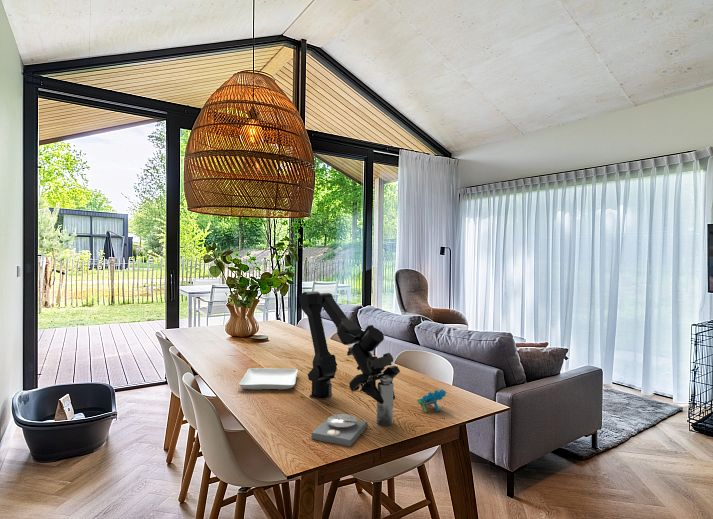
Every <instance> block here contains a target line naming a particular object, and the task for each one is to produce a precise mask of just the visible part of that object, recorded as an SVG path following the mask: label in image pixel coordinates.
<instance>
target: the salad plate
mask: <svg viewBox="0 0 713 519" xmlns="http://www.w3.org/2000/svg"><path fill="white" fill-rule="evenodd" d="M298 372H299V370H298V369H297V368H276V367H274V368H271V367H270V368H266V367H264V368H258V367H257V368H256V367H255V368H250V367H249V368H248V369H247V371H246V372H245V374H244V376H243V377H242V379H241V380H240V381H239V383H238V386H240V387H241V388H242V389H244V390H245V389H246V390H262V389H278V390H289V389H292V388H293V387H295V385H296V382H297V381H296V380H297V375H298Z"/></svg>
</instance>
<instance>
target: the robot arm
mask: <svg viewBox="0 0 713 519" xmlns="http://www.w3.org/2000/svg"><path fill="white" fill-rule="evenodd" d="M298 299H299V304H300V307H301V310H302V311H303V313H304V314H305V315H306V317H307V319H308V320H307V321H308V325H309V330H310V335H311V341H312V346H313V350H314V355H313V358H312V359H313V360H312V368H311V370H310V371H309V372H308V373H307V378H308V381H311V394H310V395H309V397H310V398H315V399H321V400H326V399H328V398H329V397H330V396H332V395H333V393H332V392H333V391H332V387H333V385H332V382H331V380H333V379H335V377H336V372H337V370H338V368H337V366H338V363H337V360H336V355H335V354H331V352H330V351H329V348H328V343H327V338H326V334H325V330H324V324H323V319H322V315H321V313H322V310H324V311H325V313H326V314H327V315H328V317H329V318H330V320H331V322H332V323H333V324H334V325H335V327H336V334H337V336H338V339H339V340H340V343H341V344H343V345H344V346H347V345H352V346H350V347H348V348H347V352H346V353H347V354H346V356H347V357H348V356H352V357H353V359H354V360H355V363H356V364H357V367H356V369H357V371H361V373H359V374H357V375H355V376H354V377H353V378H352V379H351V381H350V382H349V389H350V391H351V392H357V391H359V392H361V393H362V392H363V393H364V394H366V395H367V396H369V397H371V398H372V399H373V400H375V401H376V403H377V402H379V403H380V404H383V403H384V402H383V399H382V397H381V395H380V393H379V391H378V386H377V381H378V380H379V381H380V377H381V376H390V377H392V382H391V383H393V380H394V378H396V376H397V375H399V374H400V372H401V370H400V368H399V367H398V365H393V362H394V358H393V355H392V354H391V352H387V353H384V354H382V355H383V356H380V357H378V356H377V355H373V354H372V353H371V352H374V351H375V350H376V349H378V347H379V345H380V344H382V343H383V341H384V340H385V336H384V333H383V331H381V330H379V329H378V328H376V327H374V325H373V324H369V325H367V326H366V327H365V329H364V330H362V328H361V327H360V326H359V325H358V324H357V323H356V322H355V321H353V320H350V319H349V317H347V315H346V314H345V313H344V311H343V310H342V309H341V307H340V306H339V304H338V303H337V301H336V300H335V299H334V296H333V294H332V293H330V292H324V293H323V292H322V293H320V292H319V291H318V290H317V291H305V292H302V293H301V294H300V296H299V298H298ZM385 367H386V368H385ZM395 399H396V395H395V390H394V389H393V401H394V400H395Z"/></svg>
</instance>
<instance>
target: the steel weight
mask: <svg viewBox="0 0 713 519" xmlns="http://www.w3.org/2000/svg"><path fill="white" fill-rule="evenodd" d="M391 382H392V383H391ZM377 389H378V391H379V393H380V395H381V397H382V399H383V402H384V403H383V404H380V403H379V402H377V401H376V403H377V404H376V424H377V425H378V426H380V425H381V427H390V426H392V425H393V419H394V418H393V416H394V415H393V414H394V413H393V412H394V400H393V390H394V383H393V380H392V377H390V376H381V377H380V379H379V382H378V383H377Z"/></svg>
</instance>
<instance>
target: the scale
mask: <svg viewBox="0 0 713 519" xmlns="http://www.w3.org/2000/svg"><path fill="white" fill-rule="evenodd" d="M332 415H333V414H332ZM332 415H330V416H332ZM366 427H367V428H368V421H367V420H359V419H357V424H356V425H354V426H352V427H348V428H338V427H333V426H331V425H329V424H328V423H327V419H325V420H324V421H323V422H322V423H321V424H320V425H319V426H317V427H316V428H315V429H313V431H311V433H310V434H311V438H310V439H311V440H316V441H320V442H321V441H322V442H326V443H331V444H337V445H340V446H346V447H351V446H352V445H353V444H354V443H355V441H356V440H357V439H358V438H359V437H360V436H361V435H362V434H363V432H364V431H365V430H366V429H367V428H366ZM360 434H361V435H360Z"/></svg>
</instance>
